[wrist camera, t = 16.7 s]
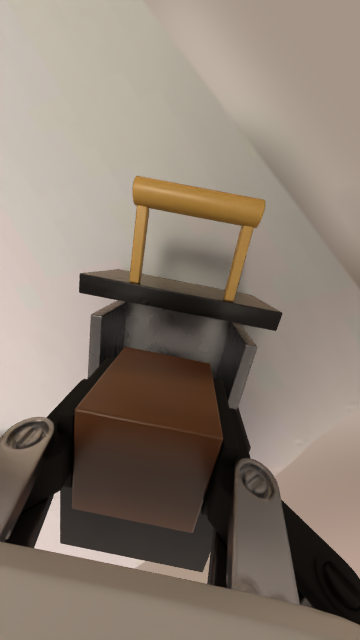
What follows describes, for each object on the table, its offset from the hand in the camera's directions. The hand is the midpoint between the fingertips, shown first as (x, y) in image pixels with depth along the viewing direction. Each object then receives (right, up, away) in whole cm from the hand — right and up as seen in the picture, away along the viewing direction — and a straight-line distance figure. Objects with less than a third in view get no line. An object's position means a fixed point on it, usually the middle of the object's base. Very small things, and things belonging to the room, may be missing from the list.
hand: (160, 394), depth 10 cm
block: (0, 0, 0) cm, 0 cm away
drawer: (+1, +3, +9) cm, 9 cm away
